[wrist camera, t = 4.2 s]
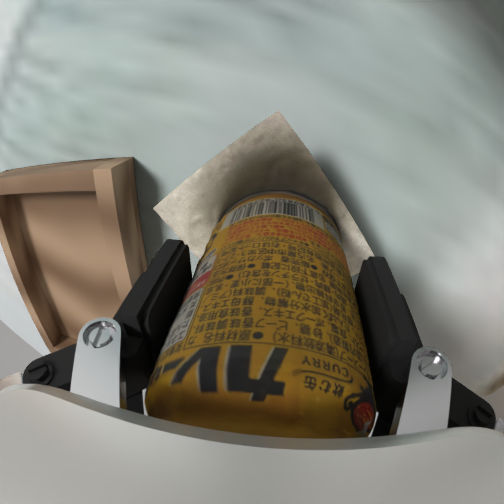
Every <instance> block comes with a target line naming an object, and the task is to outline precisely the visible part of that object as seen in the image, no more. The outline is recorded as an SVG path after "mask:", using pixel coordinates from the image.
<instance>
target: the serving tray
mask: <svg viewBox="0 0 504 504" xmlns="http://www.w3.org/2000/svg"><path fill="white" fill-rule="evenodd" d="M0 242H1V245H2V248H3V251H4V253H5V256H6V259H7V262H8V265H9V267H10V270H11V272H12V275H13V277H14V280H15V282H16V285H17V287H18V289H19V292H20V294H21V296H22V298H23V301H24V303H25V305H26V307H27V309H28V311H29V313H30V315H31V317H32V319H33V321H34V323H35V325H36V327H37V329H38V331H39V333H40V335H41V337H42V339H43V340H44V342H45V344H46V346H47V347H48V349H49V351H50V352H51V353H53V352H56V351H58V350H60V349H63V348H65V347H68V346H70V345H73V344H75V343H77V340H78V335H79V332H80V330H81V329H82V327H83V326H84V325H85V324H87V323H88V322H89V321H91V320H93V319H96V318H101V317H105V318H111V319H113V317H114V316H115V314H116V312H117V311H118V309H119V307H120V306H121V304H122V303H123V301H124V299H125V298H126V296H127V295H128V293H129V292H130V290H131V289H132V287H133V285H134V284H135V282H136V281H137V279H138V278H139V276H140V275H141V274H142V273H143V272H146V270H147V269H148V266H147V261H146V255H145V249H144V243H143V236H142V230H141V223H140V215H139V208H138V200H137V191H136V182H135V171H134V160H133V157H123V158H107V159H93V160H81V161H71V162H62V163H53V164H45V165H37V166H30V167H24V168H17V169H11V170H6V171H4V172H2V173H0Z"/></svg>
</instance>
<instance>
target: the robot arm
mask: <svg viewBox="0 0 504 504" xmlns="http://www.w3.org/2000/svg"><path fill="white" fill-rule="evenodd" d="M191 280H192V272H191V263H190V253H189V246H188V245H186V244H184V242H183V240H172V239H168V240H167V241H166V242H165V243H164V245H163V246H162V248H161V249H160V251H159V252H158V254H157V255H156V257H155V258H154V260H153V261H152V263H151V264H150V266H149V267H148V269H147V270H146V272H143V273H142V274H141V275H140V276H139V278H138V279H137V281H136V282H135V284H134V285H133V287H132V289H131V290H130V292H129V293H128V295H127V296H126V298H125V299H124V301H123V303H122V304H121V306H120V307H119V309H118V311H117V312H116V314H115V316H114V317H113V319H111V318H105V317H101V318H96V319H93V320H91V321H89V322H88V323H87V324H85V325H84V326H83V327H82V329H81V330H80V332H79V335H78V340H77V343H75V344H73V345H70V346H68V347H65V348H63V349H60V350H58V351H56V352H53V353H51V354H48V355H46V356H43V357H41V358H38V359H36V360H34V361H32V362H31V363H30V364H29V365H28V366H27V367H26V369H25V371H24V374H23V375H22V374H21V372H18V373H15V374H13V375H10V376H8V377H5V378H2V379H0V504H504V421H503V420H502V419H501V418H498V419H497V420H496V418H495V413H494V410H493V409H492V407H491V405H490V404H489V403H487V402H486V401H485V400H484V399H482V398H481V397H479V396H478V395H476V394H475V393H474V392H472V391H471V390H469V389H468V388H466V387H465V386H463V385H462V384H461V383H459V382H458V381H456V380H455V379H453V378H452V366H451V363H450V360H449V358H448V357H447V356H446V355H445V354H444V353H443V352H442V351H440V350H438V349H436V348H434V347H423V345H422V342H421V340H420V337H419V334H418V331H417V328H416V326H415V323H414V320H413V318H412V315H411V313H410V310H409V307H408V305H407V302H406V300H405V298H404V296H403V295H402V294H400V292H399V289H398V287H397V284H396V282H395V280H394V277H393V275H392V273H391V270H390V268H389V266H388V264H387V261H386V259H385V258H384V257H375V256H369V257H368V259H367V260H363V262H362V266H361V269H360V273H359V276H358V280H357V283H356V287H355V290H354V292H355V296H356V300H357V304H358V306H359V315H360V318H361V323H362V328H363V333H364V339H365V345H366V347H367V355H368V360H369V366H370V372H371V376H372V378H371V379H372V382H373V392H374V398H375V402H376V409H377V412H376V417H375V423H374V427H373V429H372V431H371V433H370V434H369V436H368V437H365V438H340V439H311V438H285V437H270V436H259V435H249V434H240V433H233V432H225V431H219V430H212V429H207V428H201V427H195V426H190V425H185V424H180V423H176V422H171V421H167V420H162V419H158V418H154V417H150V416H148V415H147V412H146V408H145V403H144V400H145V392H146V388H147V386H148V384H149V380H150V376H151V375H152V373H153V371H154V368H155V365H156V362H157V359H158V357H159V354H160V351H161V349H162V348H163V345H164V342H165V339H166V337H167V335H168V332H169V328H170V326H171V325H172V323H173V321H174V319H175V316H176V314H177V312H178V310H179V307H180V306H181V304H182V301H183V297H184V296H185V294H186V292H187V288H188V286H189V283H190V281H191Z"/></svg>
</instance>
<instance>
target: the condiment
mask: <svg viewBox="0 0 504 504" xmlns="http://www.w3.org/2000/svg"><path fill="white" fill-rule="evenodd" d="M153 209H154V210H155V211H156V212H157V213H158V214H159V216H160V217H161V218H162V220H163V221H164V222H165V223H166V224H167V225H168V226H169V227H170V228H172V230H173V231H174V232H175V233H176V235H177V236H178V237H179V238H180V240H183V242H184V243H185V244H186V245H188V246H189V248H190V249H191V251H192V252H193V253H194V254H195V255H196V256H197V257H198V258H199V259H200V260H199V262H198V264H197V267H196V270H195V273H194V276H193V278H192V280H191V281H190V283H189V286H188V288H187V292H186V294H185V296H184V297H183V301H182V304H181V306H180V307H179V310H178V312H177V314H176V316H175V319H174V321H173V323H172V325H171V326H170V328H169V332H168V335H167V337H166V339H165V342H164V345H163V348H162V349H161V351H160V354H159V357H158V359H157V362H156V365H155V368H154V371H153V373H152V375H151V376H150V380H149V384H148V386H147V389H146V392H145V400H144V403H145V408H146V412H147V415H148V416H150V417H154V418H158V419H162V420H167V421H171V422H176V423H180V424H185V425H190V426H195V427H201V428H207V429H212V430H219V431H225V432H233V433H240V434H249V435H259V436H270V437H285V438H311V439H340V438H365V437H368V436H369V434H370V433H371V431H372V429H373V427H374V423H375V417H376V412H377V409H376V402H375V398H374V392H373V382H372V379H371V378H372V376H371V372H370V366H369V360H368V355H367V347H366V345H365V339H364V333H363V328H362V323H361V318H360V315H359V306H358V304H357V300H356V296H355V292H354V288H353V283H352V279H351V277H352V276H354V275H356V274H358V273H360V269H361V266H362V262H363V260H367V259H368V257H369V256H374V254H373V252H372V251H371V249H370V247H369V245H368V243H367V242H366V240H365V238H364V236H363V235H362V233H361V231H360V230H359V228H358V226H357V225H356V223H355V221H354V219H353V218H352V216H351V214H350V213H349V211H348V210H347V208H346V206H345V205H344V203H343V202H342V200H341V199H340V197H339V195H338V194H337V192H336V191H335V189H334V188H333V186H332V185H331V183H330V182H329V180H328V179H327V177H326V176H325V175H324V173H323V171H322V170H321V168H320V167H319V165H318V164H317V162H316V161H315V159H314V158H313V156H312V155H311V154H310V152H309V150H308V149H307V148H306V147H305V145H304V144H303V142H302V141H301V140H300V138H299V137H298V136H297V134H296V133H295V132H294V130H293V129H292V128H291V126H290V125H289V123H288V122H287V121H286V120H285V118H284V117H283V116H282V114H281V113H280V112H279V111H277V112H276V113H274V114H273V115H271V116H270V117H268V118H267V119H265V120H264V121H263V122H261V123H260V124H258V125H257V126H255V127H254V128H252V129H251V130H250V131H248V132H247V133H246V134H244V135H243V136H241V137H240V138H239V139H237V140H236V141H235V142H234V143H232V144H231V145H229V146H228V147H226V148H225V149H224V150H223V151H221V152H220V153H219V154H218V155H216V156H215V157H214V158H212V159H211V160H210V161H209V162H207V163H206V164H205V165H203V166H202V167H201V168H200V169H198V170H197V171H196V172H195V173H194V174H192V175H191V176H190V177H189V178H188V179H186V180H185V181H184V182H183V183H182V184H180V185H179V186H178V187H177V188H176V189H174V190H173V191H172V192H171V193H170V194H169V195H167V196H166V197H165V198H164V199H163V200H162V201H161V202H159V203H158V204H157V205H156V206H155V207H154V208H153Z"/></svg>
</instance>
